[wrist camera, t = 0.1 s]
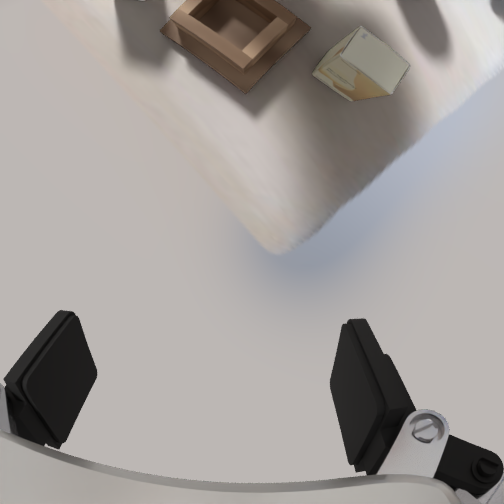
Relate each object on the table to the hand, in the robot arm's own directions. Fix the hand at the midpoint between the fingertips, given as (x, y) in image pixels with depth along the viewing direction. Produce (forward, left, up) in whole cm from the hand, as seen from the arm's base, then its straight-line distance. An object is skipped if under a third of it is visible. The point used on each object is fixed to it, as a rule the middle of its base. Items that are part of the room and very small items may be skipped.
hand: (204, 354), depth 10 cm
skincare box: (-19, 0, -31) cm, 37 cm away
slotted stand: (-15, -14, -31) cm, 37 cm away
